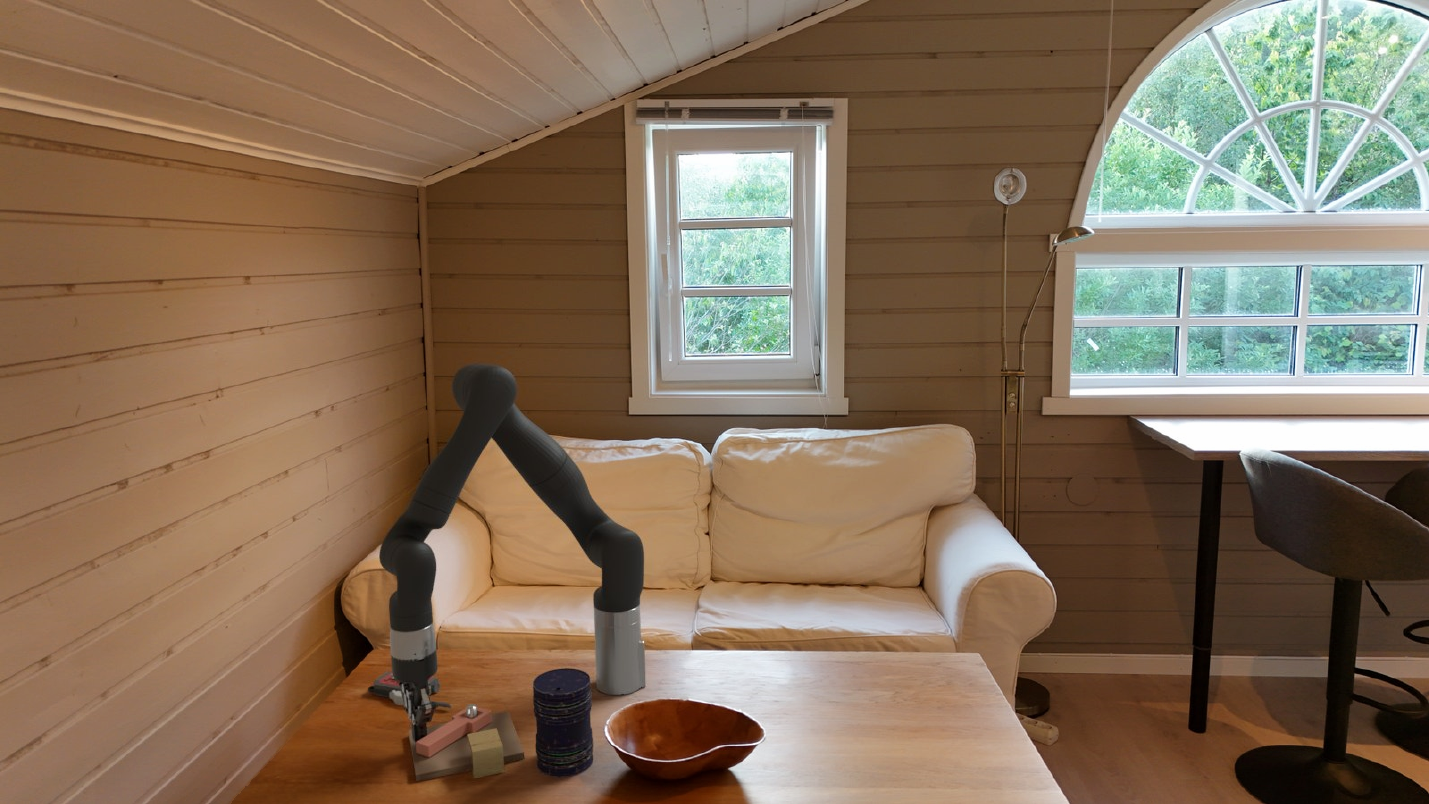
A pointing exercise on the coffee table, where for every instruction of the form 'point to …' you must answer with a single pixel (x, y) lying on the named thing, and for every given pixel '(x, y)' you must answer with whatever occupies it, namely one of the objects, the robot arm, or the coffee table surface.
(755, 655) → the coffee table surface
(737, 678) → the coffee table surface
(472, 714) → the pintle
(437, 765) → the board
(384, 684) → the walkie-talkie
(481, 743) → the block
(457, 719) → the link
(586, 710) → the storage jar
